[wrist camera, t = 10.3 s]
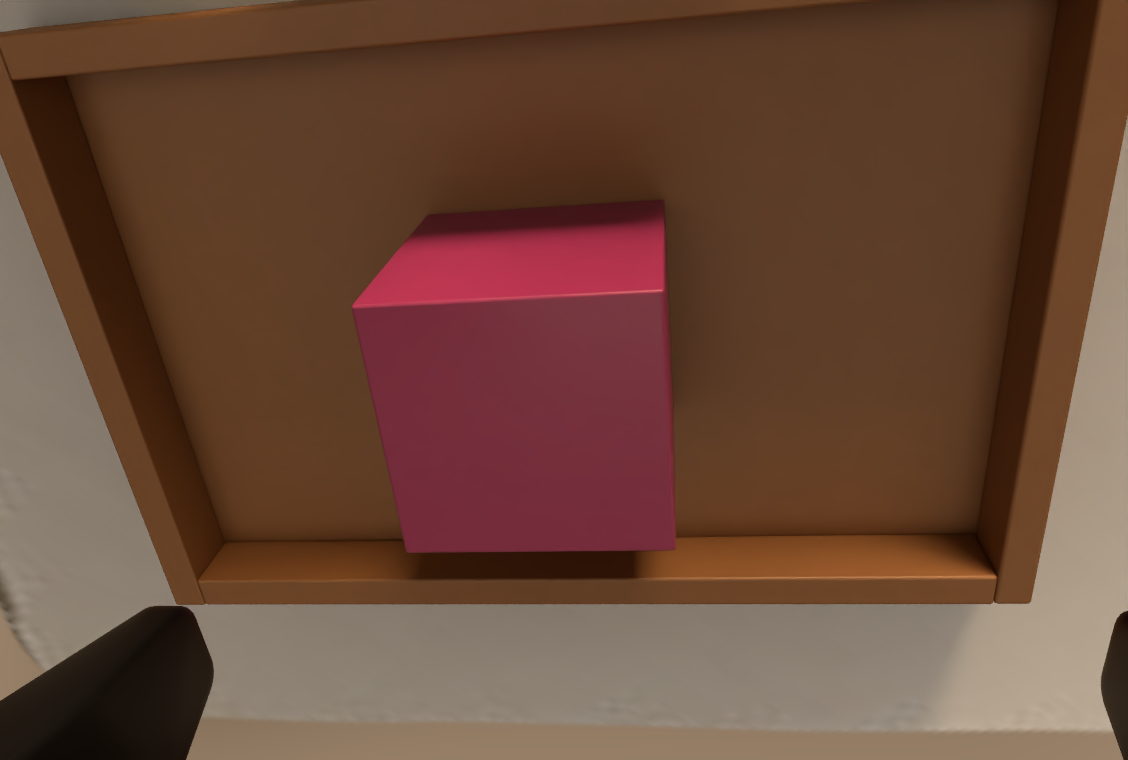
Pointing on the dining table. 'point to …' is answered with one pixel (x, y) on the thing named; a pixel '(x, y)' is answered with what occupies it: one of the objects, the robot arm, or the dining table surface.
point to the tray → (579, 177)
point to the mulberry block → (527, 380)
